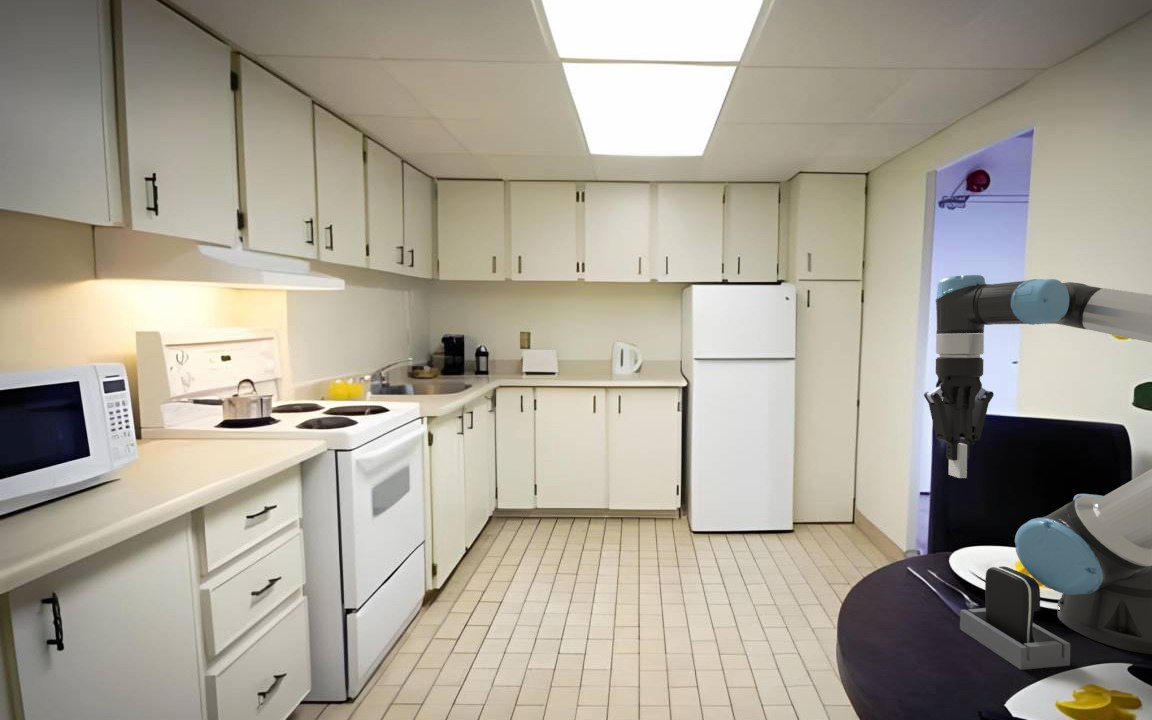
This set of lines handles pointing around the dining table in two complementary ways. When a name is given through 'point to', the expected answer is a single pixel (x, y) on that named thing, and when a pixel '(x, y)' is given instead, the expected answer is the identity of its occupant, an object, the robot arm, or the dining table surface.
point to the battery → (1011, 602)
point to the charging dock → (1016, 643)
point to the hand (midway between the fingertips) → (957, 476)
